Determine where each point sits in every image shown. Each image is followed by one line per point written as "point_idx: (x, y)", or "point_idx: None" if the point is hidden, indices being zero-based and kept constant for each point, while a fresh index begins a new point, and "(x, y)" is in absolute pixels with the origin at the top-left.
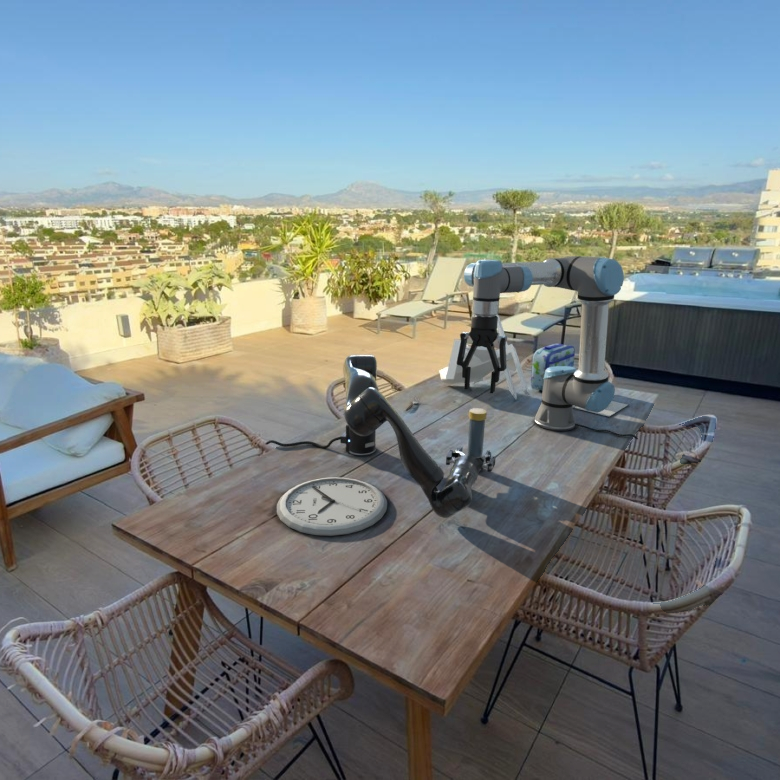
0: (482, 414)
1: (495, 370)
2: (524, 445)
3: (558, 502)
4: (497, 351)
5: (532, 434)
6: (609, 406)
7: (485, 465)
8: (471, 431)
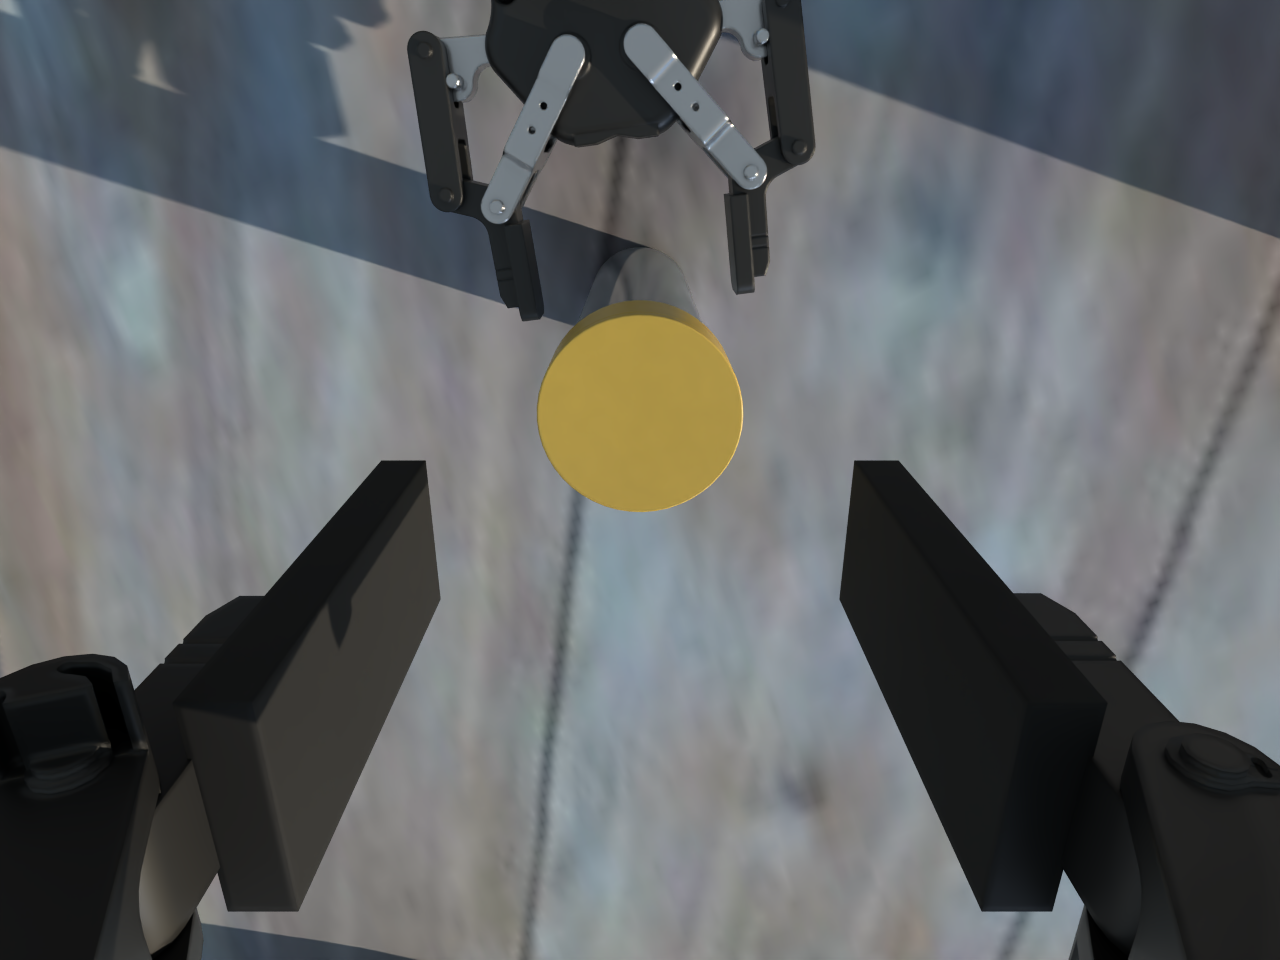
0: (561, 348)
1: (91, 755)
2: (476, 742)
3: (12, 87)
4: None
5: (486, 886)
6: None
7: (461, 38)
8: (671, 295)
